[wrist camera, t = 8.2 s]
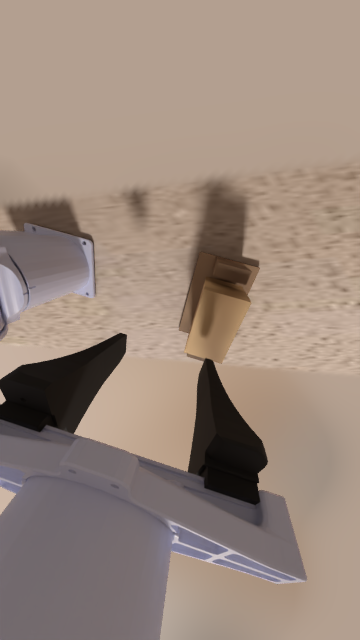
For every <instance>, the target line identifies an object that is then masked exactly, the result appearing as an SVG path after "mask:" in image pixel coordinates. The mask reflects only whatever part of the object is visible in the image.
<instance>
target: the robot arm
mask: <svg viewBox="0 0 360 640" xmlns="http://www.w3.org/2000/svg"><path fill="white" fill-rule="evenodd" d="M24 229H25V231H4V230H0V341H1V340H2V339H3V338H4V337H5V335H6V334H7V331H8V325H7V324H9V323H12V322H14V321H17V320H19V319H20V313H21V312H22V311H25V310H28V309H30V308H33V307H35V306H38V305H41V304H43V303H46V302H48V301H51V300H54V299H56V298H59V297H61V296H64V295H67V294H69V293H72V292H73V293H76V294H79V295H83V296H86V297H89V298H94V297H95V277H94V253H93V243H92V241H91V240H89V239H85V238H81V237H78V236H74V235H70V234H67V233H63V232H60V231H56V230H52V229H49V228H45V227H41V226H38V225H34V224H30V223H24ZM35 229H36V230H35ZM84 241H85V242H86V245H85V243H84ZM88 293H89V294H88ZM126 339H127V335H126V334H122V333H119V334H117V335H115V336H113V337H111V338H109V339H107V340H105V341H103V342H101V343H99V344H97V345H95V346H92V347H90V348H88V349H85V350H83V351H80V352H77V353H74V354H71V355H68V356H64V357H61V358H57V359H53V360H49V361H43V362H38V363H32V364H26V365H21V366H20V367H18V368H17V369H15V370H14V371H12V372H11V373H9V374H8V375H6V376H5V377H3V378H2V379H1V380H0V389H1V391H2V393H3V395H4V397H5V399H6V401H5V402H4V403H3V404H1V405H0V487H2V488H4V489H7V490H9V491H11V492H13V493H16V495H15V497H14V498H13V499H12V500H11V502H10V503H9V505H8V506H7V507H6V508H5V510H4V511H3V512H2V514H1V515H0V640H160V632H161V624H162V616H163V608H164V601H165V594H166V585H167V578H168V571H169V563H170V554H171V551H172V552H175V553H179V554H183V555H186V556H189V557H193V558H196V559H199V560H203V561H206V562H210V563H213V564H217V565H220V566H224V567H227V568H230V569H234V570H237V571H240V572H244V573H246V574H250V575H253V576H256V577H259V578H261V579H265V580H267V581H270V582H273V583H276V584H281V583H294V582H306V581H307V576H306V573H305V569H304V566H303V562H302V559H301V555H300V551H299V548H298V544H297V541H296V537H295V534H294V530H293V526H292V523H291V520H290V516H289V512H288V509H287V505H286V501H285V498H284V497H282V496H280V495H277V494H273V493H270V492H268V491H264V490H259V491H258V487H257V483H259V478H258V473H259V472H260V471H261V470H262V469H263V468H265V466H266V465H267V462H268V460H267V456H266V452H265V448H264V446H263V443H262V440H261V439H260V438H259V437H258V436H257V435H256V434H255V432H254V431H253V430H252V429H251V428H250V427H249V425H248V424H247V423H246V422H245V420H244V419H243V418H242V416H241V415H240V414H239V412H238V411H237V409H236V408H235V407H234V405H233V403H232V402H231V400H230V399H229V397H228V395H227V393H226V391H225V389H224V387H223V385H222V383H221V381H220V379H219V376H218V374H217V371H216V368H215V365H214V362H213V360H211V359H208V358H205V360H204V363H203V365H202V368H201V371H200V373H199V378H198V384H197V409H196V410H197V411H196V420H195V428H194V436H193V442H192V449H191V455H190V461H189V467H188V472H186V471H183V470H180V469H177V468H174V467H171V466H168V465H165V464H162V463H159V462H156V461H153V460H150V459H147V458H144V457H141V456H138V455H135V454H132V453H129V452H127V451H125V450H122V449H119V448H116V447H113V446H110V445H107V444H104V443H101V442H98V441H95V440H92V439H89V438H84V437H81V436H78V435H75V434H74V432H75V430H76V429H77V427H78V425H79V423H80V421H81V419H82V418H83V416H84V414H85V412H86V411H87V409H88V407H89V405H90V404H91V402H92V400H93V399H94V397H95V396H96V394H97V392H98V391H99V389H100V388H101V386H102V385H103V383H104V382H105V381H106V379H107V378H108V377H109V376H110V374H111V373H112V372H113V370H114V369H115V368H116V366H117V365H118V364H119V363H120V361H121V359H122V358H123V356H124V354H125V353H126Z"/></svg>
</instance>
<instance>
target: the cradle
mask: <svg viewBox="0 0 360 640" xmlns="http://www.w3.org/2000/svg"><path fill="white" fill-rule="evenodd" d="M259 269H260V268H259V267H256V266H252V265H248V264H245V263H241V262H237V261H233V260H230V259H226V258H222V257H218V256H215V255H211V254H207V253H204V252H200V253H199V257H198V260H197V264H196V268H195V271H194V275H193V279H192V283H191V286H190V290H189V294H188V298H187V301H186V305H185V309H184V312H183V316H182V320H181V324H180V327H179V330H180V331H183V332H186V333H189V331H190V327H191V324H192V321H193V318H194V315H195V311H196V308H197V305H198V302H199V298H200V295H201V292H202V289H203V285H204V282H205V279H206V276H207V277H210V278H214V279H217V280H221V281H225V282H228V283H232V284H236V285H239V286H242V287H243V289H244V291H245V292H246V294H247V295H248V293H249V291H250V289H251V286H252V284H253V282H254V280H255V278H256V276H257V274H258V271H259ZM187 356H188V357H191V358H194V359H197V360H201V361H204V360H205V359H204V358H201V357H197V356H194V355H191V354H188V353H187Z"/></svg>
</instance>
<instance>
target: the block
mask: <svg viewBox="0 0 360 640" xmlns="http://www.w3.org/2000/svg"><path fill="white" fill-rule="evenodd" d="M250 305H251V301H250V299H249V297H248V296H247V294H246V292H245V291H244V289H243V287H242V286H239V285H236V284H232V283H228V282H225V281H221V280H217V279H214V278H210V277H207V276H206V279H205V282H204V285H203V289H202V292H201V295H200V298H199V302H198V305H197V308H196V311H195V315H194V318H193V321H192V324H191V327H190V331H189V335H188V339H187V343H186V347H185V351H184V353H188V354H191V355H194V356H197V357H201V358H204V359H205V358H208V359H211V360H213V361H214V362H217V363H220V364H222V362H223V360H224V358H225V356H226V354H227V352H228V350H229V347H230V345H231V343H232V341H233V339H234V337H235V335H236V333H237V331H238V329H239V327H240V325H241V323H242V321H243V319H244V317H245V315H246V313H247V311H248V309H249V307H250Z"/></svg>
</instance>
